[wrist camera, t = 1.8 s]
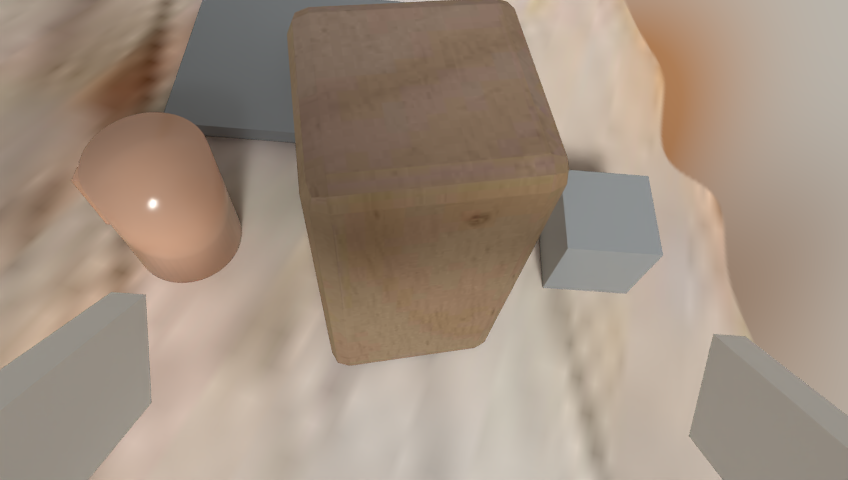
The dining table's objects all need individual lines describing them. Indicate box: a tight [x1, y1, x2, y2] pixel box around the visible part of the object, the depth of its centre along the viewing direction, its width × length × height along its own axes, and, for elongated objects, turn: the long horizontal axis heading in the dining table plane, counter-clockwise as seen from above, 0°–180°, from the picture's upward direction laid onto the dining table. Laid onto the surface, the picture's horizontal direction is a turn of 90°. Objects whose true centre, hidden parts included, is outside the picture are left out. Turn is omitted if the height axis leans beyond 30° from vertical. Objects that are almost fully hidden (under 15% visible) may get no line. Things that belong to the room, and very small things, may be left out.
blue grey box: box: [539, 170, 663, 293], centre depth 39 cm, size 6×6×6 cm
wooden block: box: [287, 0, 569, 365], centre depth 30 cm, size 10×10×20 cm
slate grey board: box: [164, 0, 404, 143], centre depth 48 cm, size 18×16×1 cm
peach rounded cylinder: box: [71, 112, 242, 283], centre depth 36 cm, size 8×7×9 cm
